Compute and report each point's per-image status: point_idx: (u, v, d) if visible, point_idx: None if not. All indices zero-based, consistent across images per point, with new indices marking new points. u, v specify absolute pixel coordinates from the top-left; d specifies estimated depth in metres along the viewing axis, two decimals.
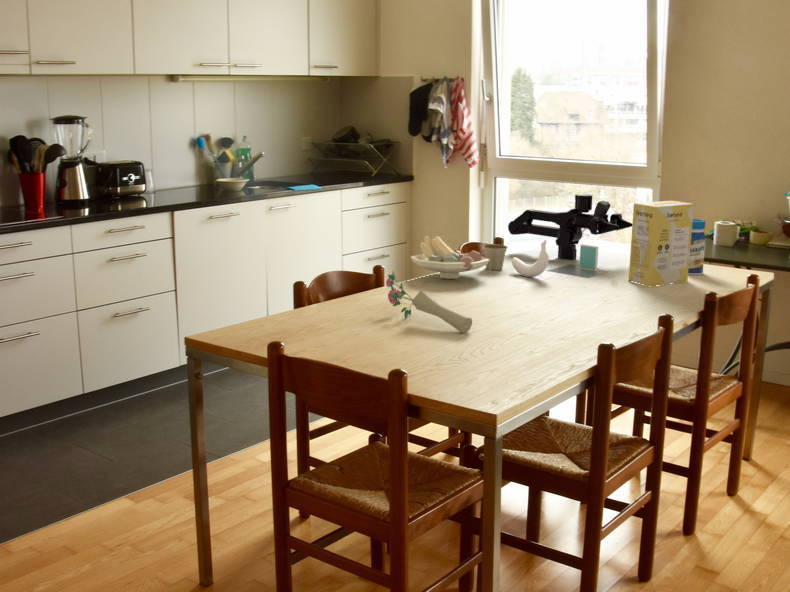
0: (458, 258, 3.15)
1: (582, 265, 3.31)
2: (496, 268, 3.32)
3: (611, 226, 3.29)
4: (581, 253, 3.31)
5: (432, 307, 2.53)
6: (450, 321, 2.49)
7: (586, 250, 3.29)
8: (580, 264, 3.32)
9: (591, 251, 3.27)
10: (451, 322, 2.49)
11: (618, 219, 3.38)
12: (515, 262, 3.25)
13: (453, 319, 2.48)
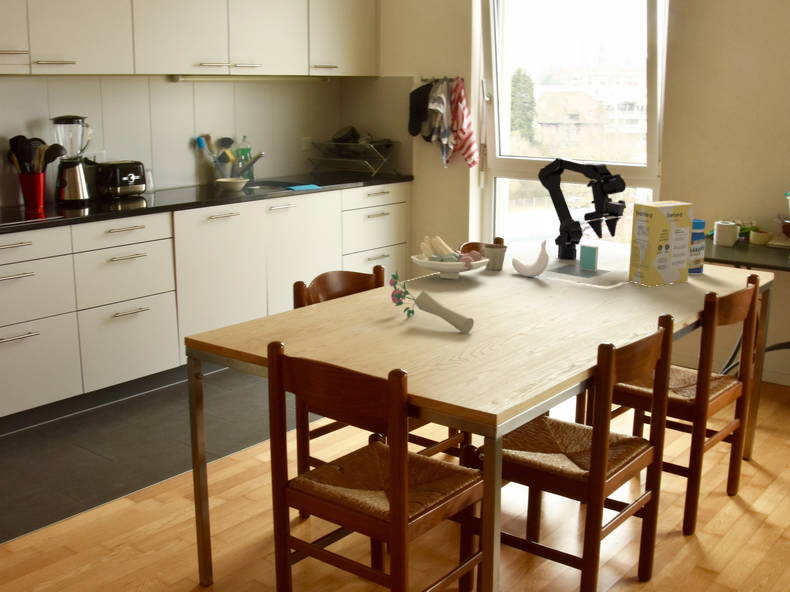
0: (458, 258, 3.15)
1: (582, 265, 3.31)
2: (496, 268, 3.32)
3: (598, 230, 3.29)
4: (581, 253, 3.31)
5: (434, 307, 2.53)
6: (451, 321, 2.49)
7: (586, 250, 3.29)
8: (580, 264, 3.32)
9: (591, 251, 3.27)
10: (452, 322, 2.48)
11: (614, 220, 3.36)
12: (515, 262, 3.25)
13: (454, 319, 2.48)
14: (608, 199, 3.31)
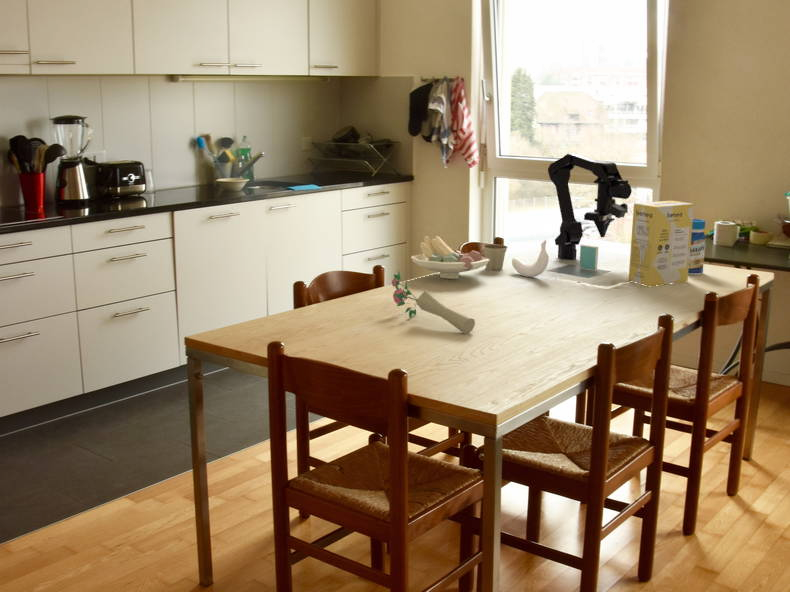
0: (458, 258, 3.15)
1: (582, 265, 3.31)
2: (496, 268, 3.32)
3: (601, 230, 3.32)
4: (581, 253, 3.31)
5: (435, 307, 2.53)
6: (453, 321, 2.48)
7: (586, 250, 3.29)
8: (580, 264, 3.32)
9: (591, 251, 3.27)
10: (454, 323, 2.48)
11: None
12: (515, 262, 3.25)
13: (456, 320, 2.47)
14: (611, 200, 3.29)
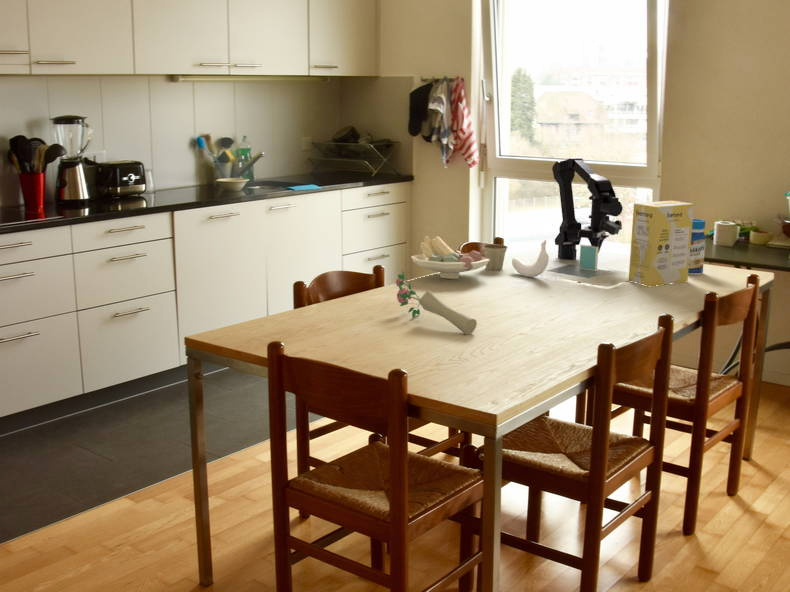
0: (458, 258, 3.15)
1: (582, 265, 3.31)
2: (496, 268, 3.32)
3: None
4: (581, 253, 3.31)
5: (438, 307, 2.53)
6: (454, 322, 2.48)
7: (586, 250, 3.29)
8: (580, 264, 3.32)
9: (591, 251, 3.27)
10: (455, 323, 2.48)
11: (601, 237, 3.31)
12: (515, 262, 3.25)
13: (457, 320, 2.47)
14: (605, 217, 3.28)
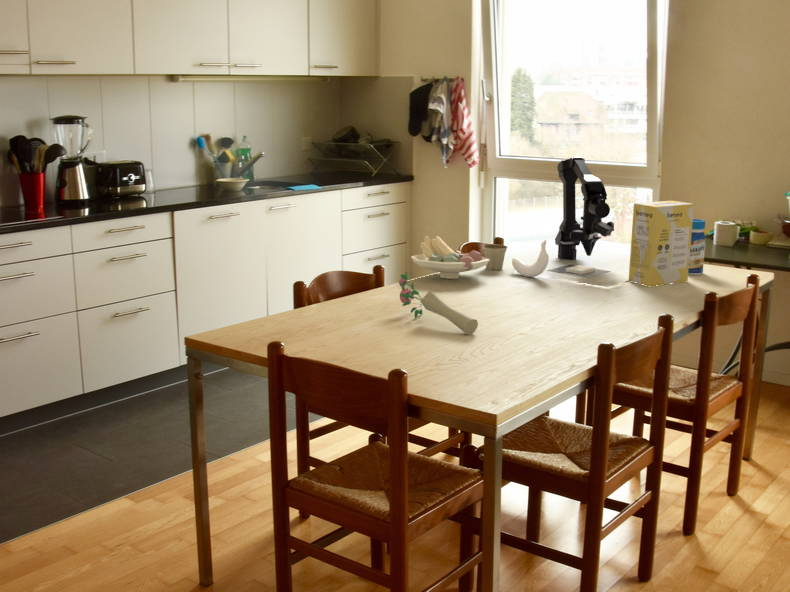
0: (458, 258, 3.15)
1: None
2: (496, 268, 3.32)
3: (588, 248, 3.27)
4: None
5: (439, 308, 2.53)
6: (455, 322, 2.48)
7: None
8: None
9: None
10: (456, 323, 2.48)
11: (593, 239, 3.27)
12: (515, 262, 3.25)
13: (458, 320, 2.47)
14: (598, 219, 3.24)
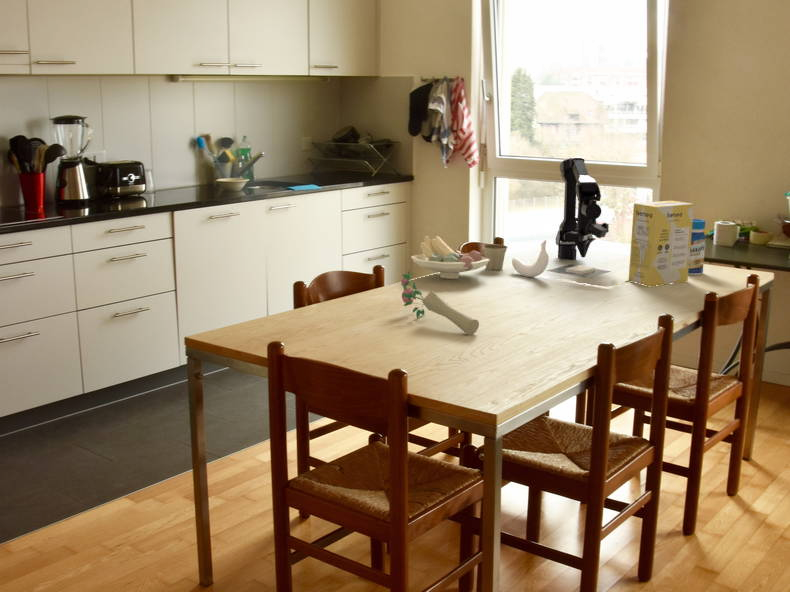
0: (458, 258, 3.15)
1: None
2: (496, 268, 3.32)
3: (582, 250, 3.25)
4: None
5: (441, 308, 2.53)
6: (457, 322, 2.47)
7: None
8: None
9: None
10: (457, 323, 2.47)
11: None
12: (515, 262, 3.25)
13: (459, 320, 2.47)
14: (592, 220, 3.21)
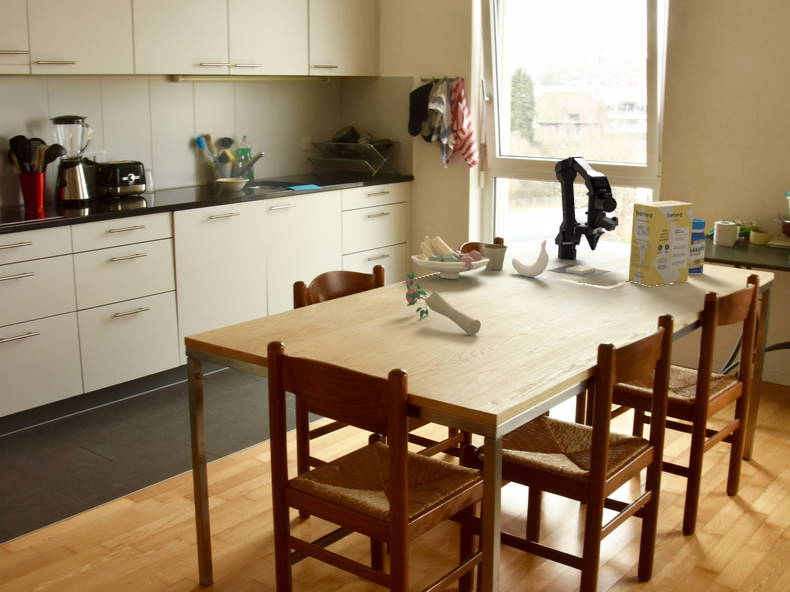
0: (458, 258, 3.15)
1: None
2: (496, 268, 3.32)
3: (592, 243, 3.29)
4: None
5: (443, 308, 2.52)
6: (458, 323, 2.47)
7: None
8: None
9: None
10: (459, 324, 2.47)
11: None
12: (515, 262, 3.25)
13: (461, 321, 2.46)
14: (602, 213, 3.26)
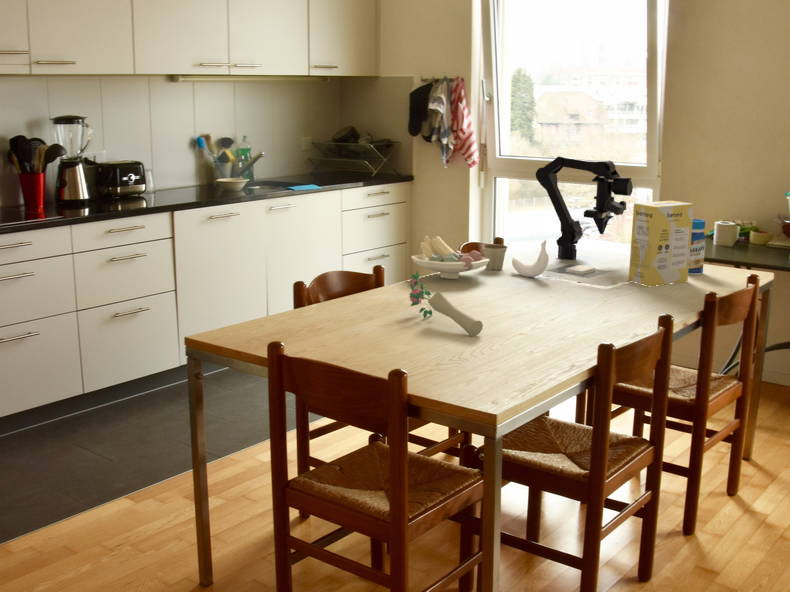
0: (458, 258, 3.16)
1: None
2: (496, 268, 3.32)
3: (600, 227, 3.39)
4: None
5: (446, 308, 2.52)
6: (460, 323, 2.47)
7: None
8: None
9: None
10: (461, 324, 2.46)
11: None
12: (515, 262, 3.25)
13: (463, 321, 2.46)
14: (610, 198, 3.36)
